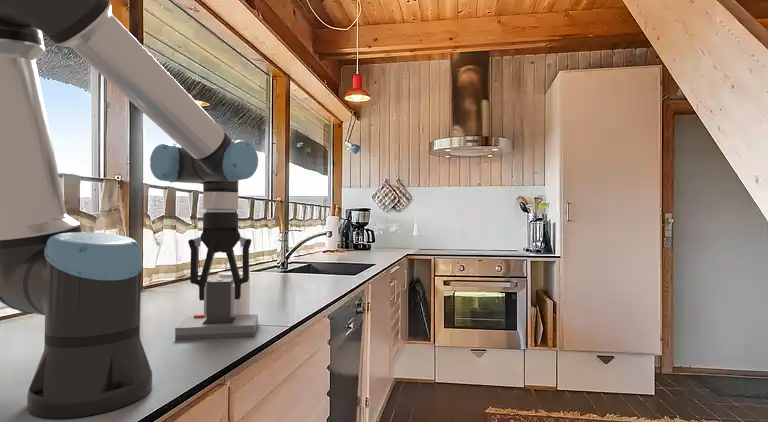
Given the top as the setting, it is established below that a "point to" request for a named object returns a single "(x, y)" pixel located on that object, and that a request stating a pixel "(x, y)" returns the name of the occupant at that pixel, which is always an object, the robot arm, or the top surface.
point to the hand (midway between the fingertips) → (220, 314)
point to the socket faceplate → (216, 327)
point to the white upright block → (244, 300)
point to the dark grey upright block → (219, 298)
